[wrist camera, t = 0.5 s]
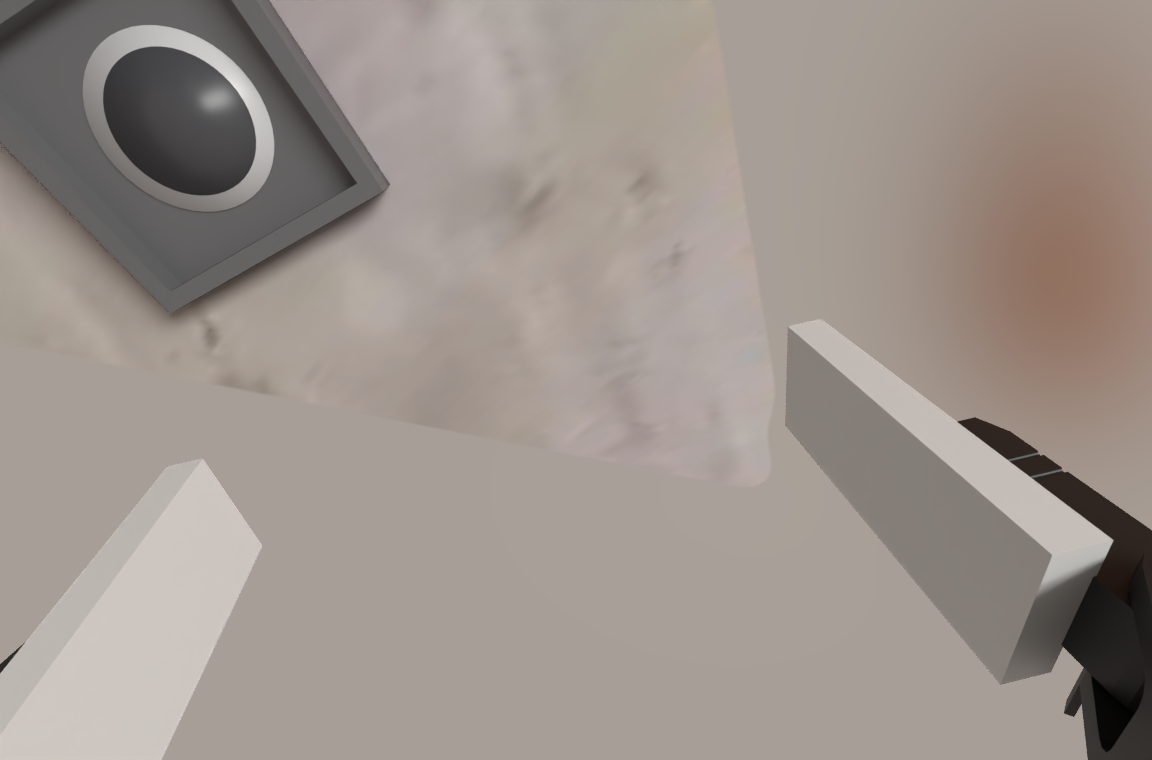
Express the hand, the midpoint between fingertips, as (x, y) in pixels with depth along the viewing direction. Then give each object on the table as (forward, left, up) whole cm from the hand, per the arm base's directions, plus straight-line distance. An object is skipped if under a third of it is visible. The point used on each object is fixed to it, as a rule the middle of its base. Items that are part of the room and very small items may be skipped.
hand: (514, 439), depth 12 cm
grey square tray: (-12, -13, -25) cm, 30 cm away
